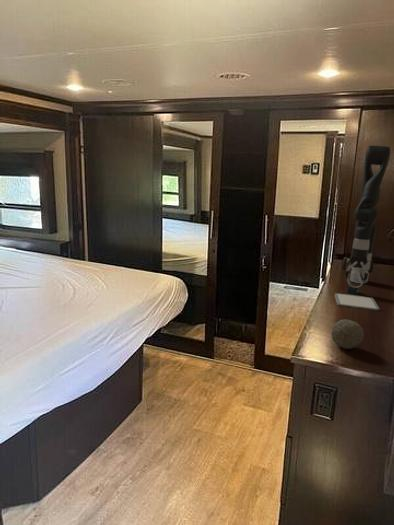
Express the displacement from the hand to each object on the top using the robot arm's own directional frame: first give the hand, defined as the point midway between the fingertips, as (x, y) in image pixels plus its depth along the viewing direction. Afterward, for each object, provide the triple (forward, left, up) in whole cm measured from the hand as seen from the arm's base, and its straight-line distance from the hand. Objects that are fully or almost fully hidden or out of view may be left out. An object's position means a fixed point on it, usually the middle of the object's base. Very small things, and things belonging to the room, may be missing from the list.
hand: (355, 279), depth 200 cm
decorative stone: (+72, -12, -8) cm, 73 cm away
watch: (0, 0, -8) cm, 8 cm away
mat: (+16, -1, -7) cm, 17 cm away
